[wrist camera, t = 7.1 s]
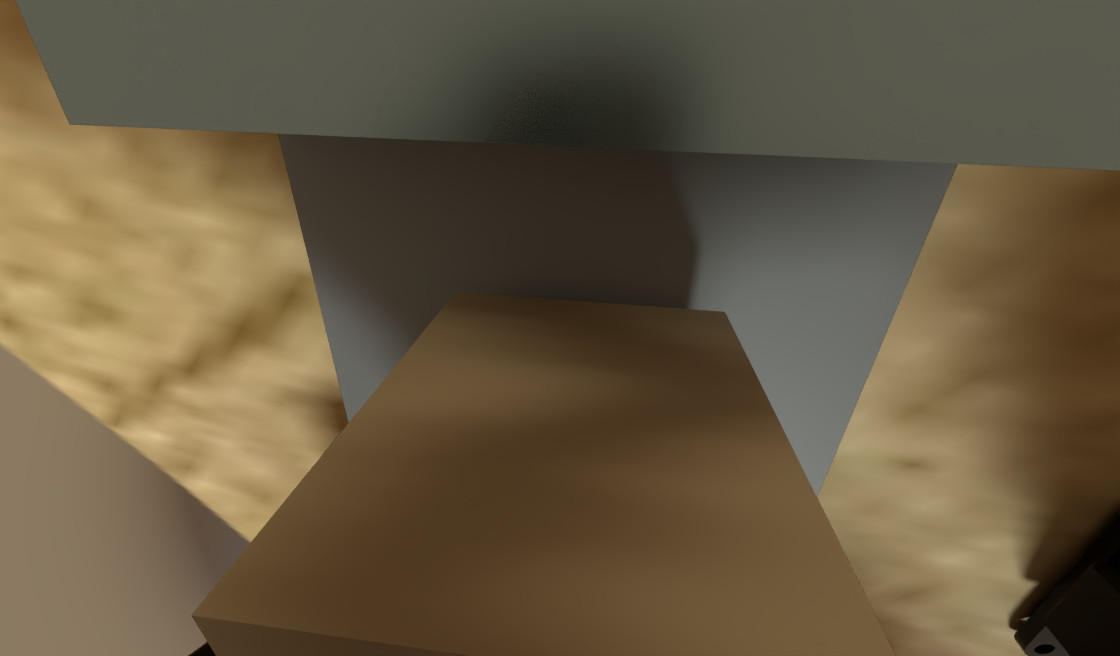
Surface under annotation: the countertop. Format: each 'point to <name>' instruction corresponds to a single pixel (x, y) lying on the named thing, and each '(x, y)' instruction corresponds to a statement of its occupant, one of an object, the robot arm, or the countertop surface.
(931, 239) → the countertop surface
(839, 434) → the vise bed
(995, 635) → the countertop surface
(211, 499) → the countertop surface
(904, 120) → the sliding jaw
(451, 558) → the oak block
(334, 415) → the countertop surface
